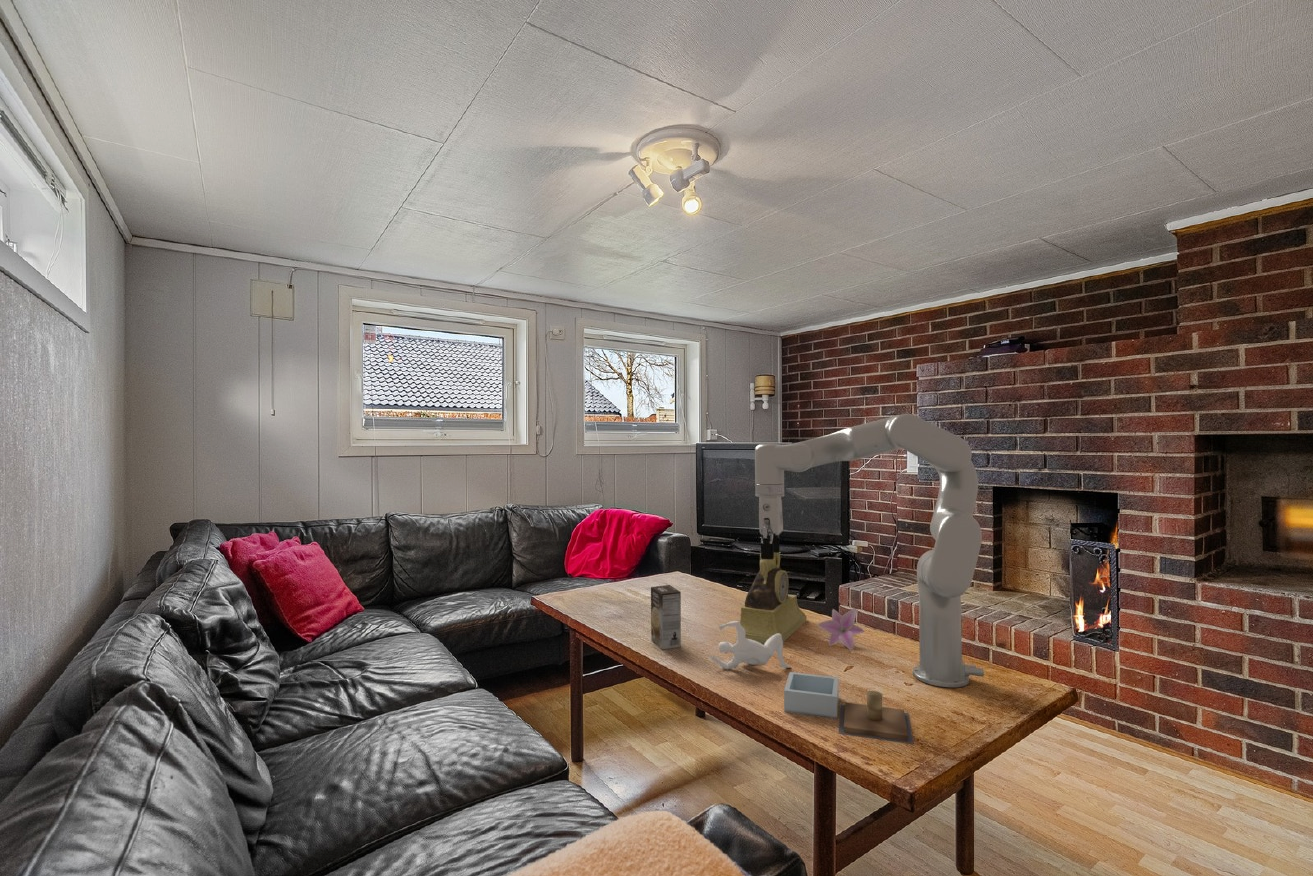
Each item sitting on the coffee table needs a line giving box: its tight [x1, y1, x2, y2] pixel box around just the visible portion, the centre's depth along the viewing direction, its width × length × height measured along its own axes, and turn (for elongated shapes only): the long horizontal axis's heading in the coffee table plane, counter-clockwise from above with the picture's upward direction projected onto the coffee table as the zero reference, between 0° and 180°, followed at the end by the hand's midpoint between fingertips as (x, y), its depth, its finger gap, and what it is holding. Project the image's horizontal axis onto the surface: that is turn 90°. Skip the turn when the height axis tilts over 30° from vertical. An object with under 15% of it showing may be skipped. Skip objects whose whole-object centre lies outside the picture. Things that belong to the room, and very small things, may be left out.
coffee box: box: [650, 584, 682, 650], centre depth 177 cm, size 9×6×16 cm
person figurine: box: [710, 620, 792, 671], centre depth 156 cm, size 13×13×18 cm
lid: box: [844, 690, 908, 741], centre depth 125 cm, size 12×12×6 cm
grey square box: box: [783, 671, 840, 720], centre depth 134 cm, size 11×11×5 cm
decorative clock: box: [739, 552, 808, 645], centre depth 189 cm, size 28×13×30 cm, turn 150°
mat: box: [838, 704, 915, 745], centre depth 125 cm, size 14×14×1 cm
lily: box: [817, 608, 866, 651], centre depth 175 cm, size 12×12×10 cm
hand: (770, 555), depth 159 cm, fingers open, 9 cm apart
